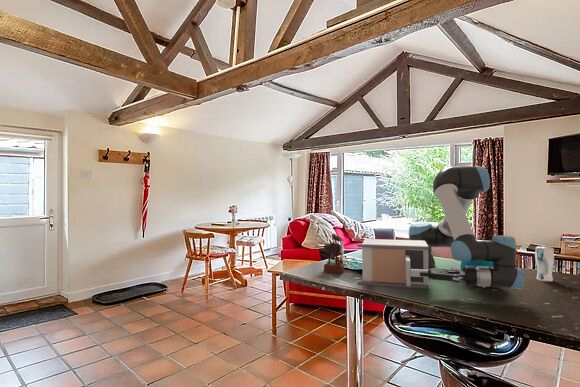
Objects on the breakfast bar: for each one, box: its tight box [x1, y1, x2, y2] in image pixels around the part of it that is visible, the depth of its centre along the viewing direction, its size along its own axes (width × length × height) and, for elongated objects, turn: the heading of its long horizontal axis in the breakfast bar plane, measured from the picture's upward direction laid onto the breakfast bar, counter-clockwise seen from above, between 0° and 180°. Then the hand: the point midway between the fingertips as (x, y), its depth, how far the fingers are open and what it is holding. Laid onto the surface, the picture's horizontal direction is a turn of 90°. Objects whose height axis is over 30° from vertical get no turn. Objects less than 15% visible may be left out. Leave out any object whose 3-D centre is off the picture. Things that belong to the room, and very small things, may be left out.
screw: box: [339, 241, 347, 263], centre depth 193 cm, size 13×5×5 cm
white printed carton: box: [534, 245, 555, 283], centre depth 154 cm, size 7×7×15 cm
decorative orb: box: [460, 261, 493, 286], centre depth 148 cm, size 15×15×15 cm
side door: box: [372, 248, 411, 286], centre depth 142 cm, size 16×14×15 cm
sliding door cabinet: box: [356, 238, 430, 290], centre depth 156 cm, size 30×18×18 cm, turn 73°
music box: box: [318, 233, 345, 275], centre depth 176 cm, size 15×11×20 cm
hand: (410, 272), depth 136 cm, fingers closed
